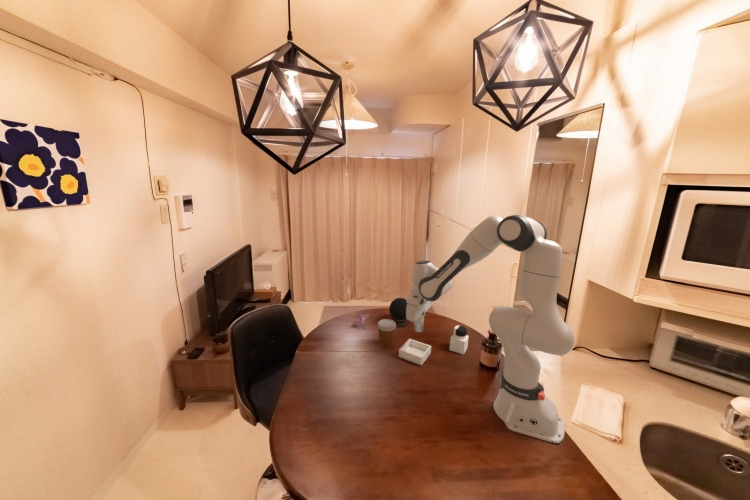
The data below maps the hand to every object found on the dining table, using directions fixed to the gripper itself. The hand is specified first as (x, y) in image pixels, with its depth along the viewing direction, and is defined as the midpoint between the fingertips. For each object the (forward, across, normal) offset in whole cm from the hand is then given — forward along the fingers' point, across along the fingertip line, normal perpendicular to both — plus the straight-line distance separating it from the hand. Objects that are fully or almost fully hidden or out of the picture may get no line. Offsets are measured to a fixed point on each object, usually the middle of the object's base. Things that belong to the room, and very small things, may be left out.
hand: (418, 322), depth 135 cm
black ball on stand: (+17, -23, -22) cm, 36 cm away
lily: (+17, -5, -37) cm, 41 cm away
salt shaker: (+4, 0, 0) cm, 4 cm away
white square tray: (+17, +1, 0) cm, 17 cm away
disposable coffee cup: (+17, +2, -16) cm, 24 cm away
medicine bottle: (+17, -16, +15) cm, 28 cm away
